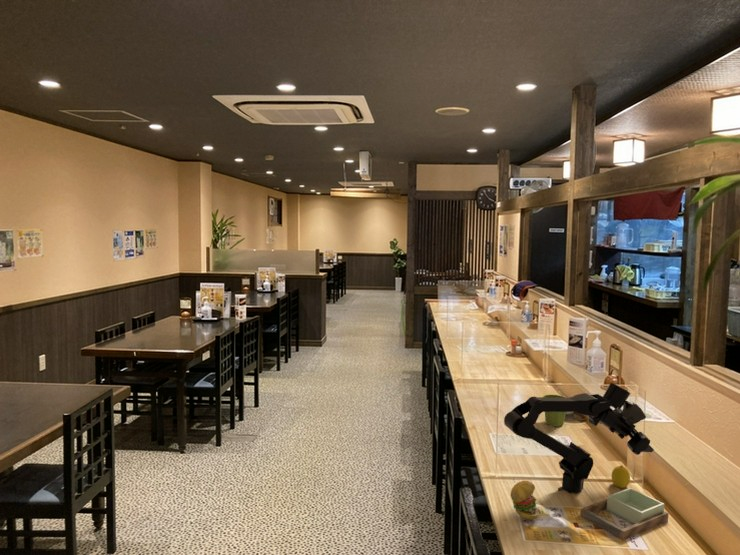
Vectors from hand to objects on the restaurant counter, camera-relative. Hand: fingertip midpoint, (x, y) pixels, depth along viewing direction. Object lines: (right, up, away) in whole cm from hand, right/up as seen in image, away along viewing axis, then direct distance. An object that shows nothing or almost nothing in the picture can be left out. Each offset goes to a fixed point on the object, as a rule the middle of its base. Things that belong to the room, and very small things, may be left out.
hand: (645, 442), depth 184 cm
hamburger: (-44, -16, -21) cm, 52 cm away
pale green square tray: (-12, -16, -18) cm, 27 cm away
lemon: (-9, -15, 0) cm, 18 cm away
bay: (-16, -17, -21) cm, 32 cm away
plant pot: (-11, -9, +58) cm, 59 cm away
